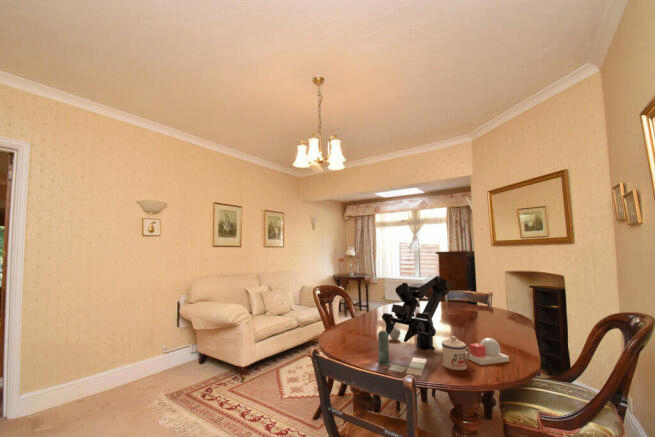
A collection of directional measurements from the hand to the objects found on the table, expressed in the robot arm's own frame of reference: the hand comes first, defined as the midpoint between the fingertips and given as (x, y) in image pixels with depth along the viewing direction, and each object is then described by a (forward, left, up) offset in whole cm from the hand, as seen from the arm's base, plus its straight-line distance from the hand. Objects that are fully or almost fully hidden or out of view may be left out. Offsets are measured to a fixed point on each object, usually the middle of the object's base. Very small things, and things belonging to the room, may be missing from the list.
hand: (395, 339), depth 126 cm
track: (-1, +9, -9) cm, 12 cm away
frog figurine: (-14, -27, -9) cm, 32 cm away
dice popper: (-38, +9, -9) cm, 40 cm away
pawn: (+7, +4, -8) cm, 11 cm away
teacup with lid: (-21, +13, -9) cm, 26 cm away
